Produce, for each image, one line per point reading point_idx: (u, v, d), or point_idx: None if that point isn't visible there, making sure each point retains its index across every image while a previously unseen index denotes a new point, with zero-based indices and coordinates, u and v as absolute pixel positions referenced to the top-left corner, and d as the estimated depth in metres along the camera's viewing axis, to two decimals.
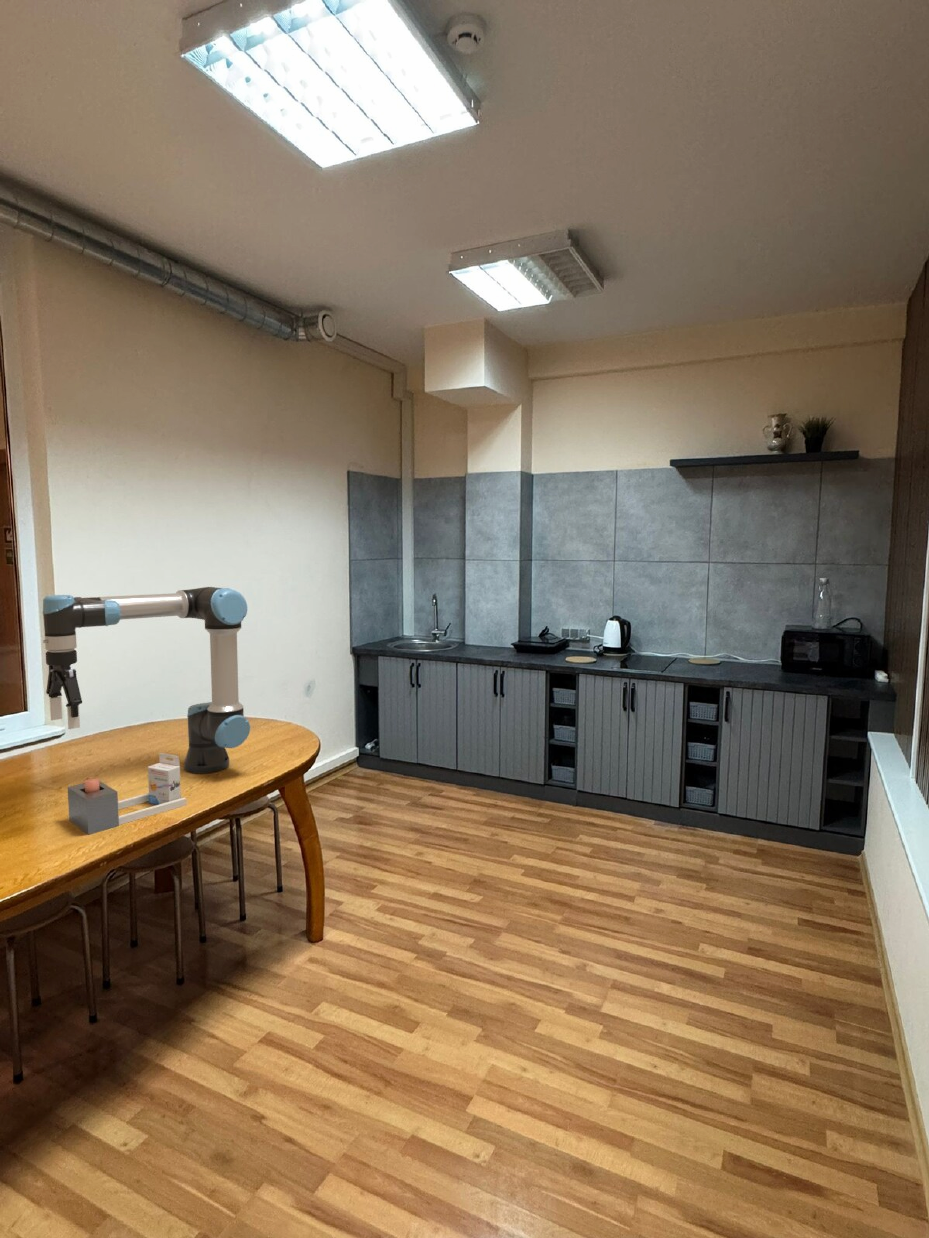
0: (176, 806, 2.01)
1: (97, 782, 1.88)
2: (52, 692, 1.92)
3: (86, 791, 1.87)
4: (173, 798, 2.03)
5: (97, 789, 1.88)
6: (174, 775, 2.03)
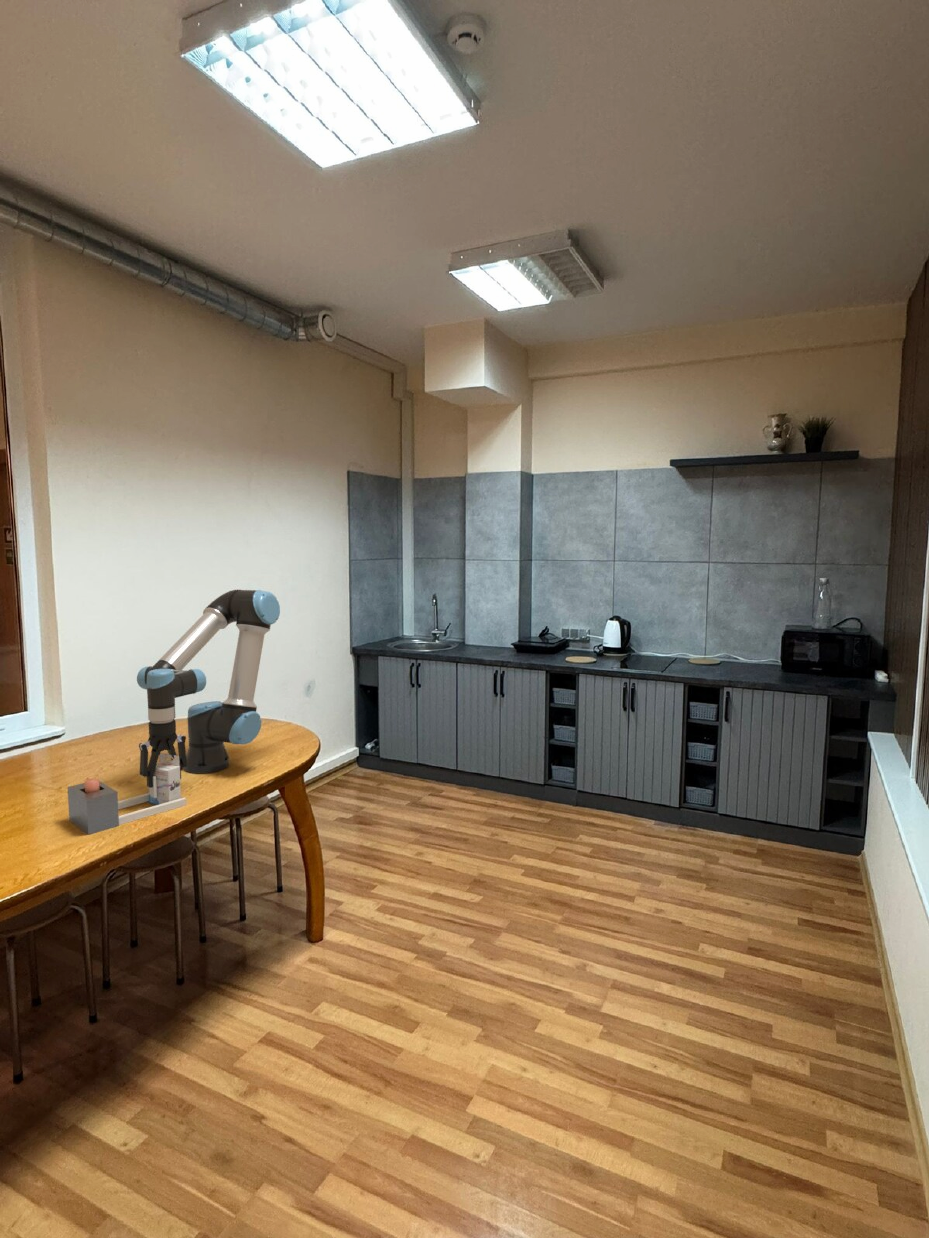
0: (176, 806, 2.01)
1: (97, 782, 1.88)
2: None
3: (86, 791, 1.87)
4: (173, 798, 2.03)
5: (97, 789, 1.88)
6: (174, 775, 2.03)
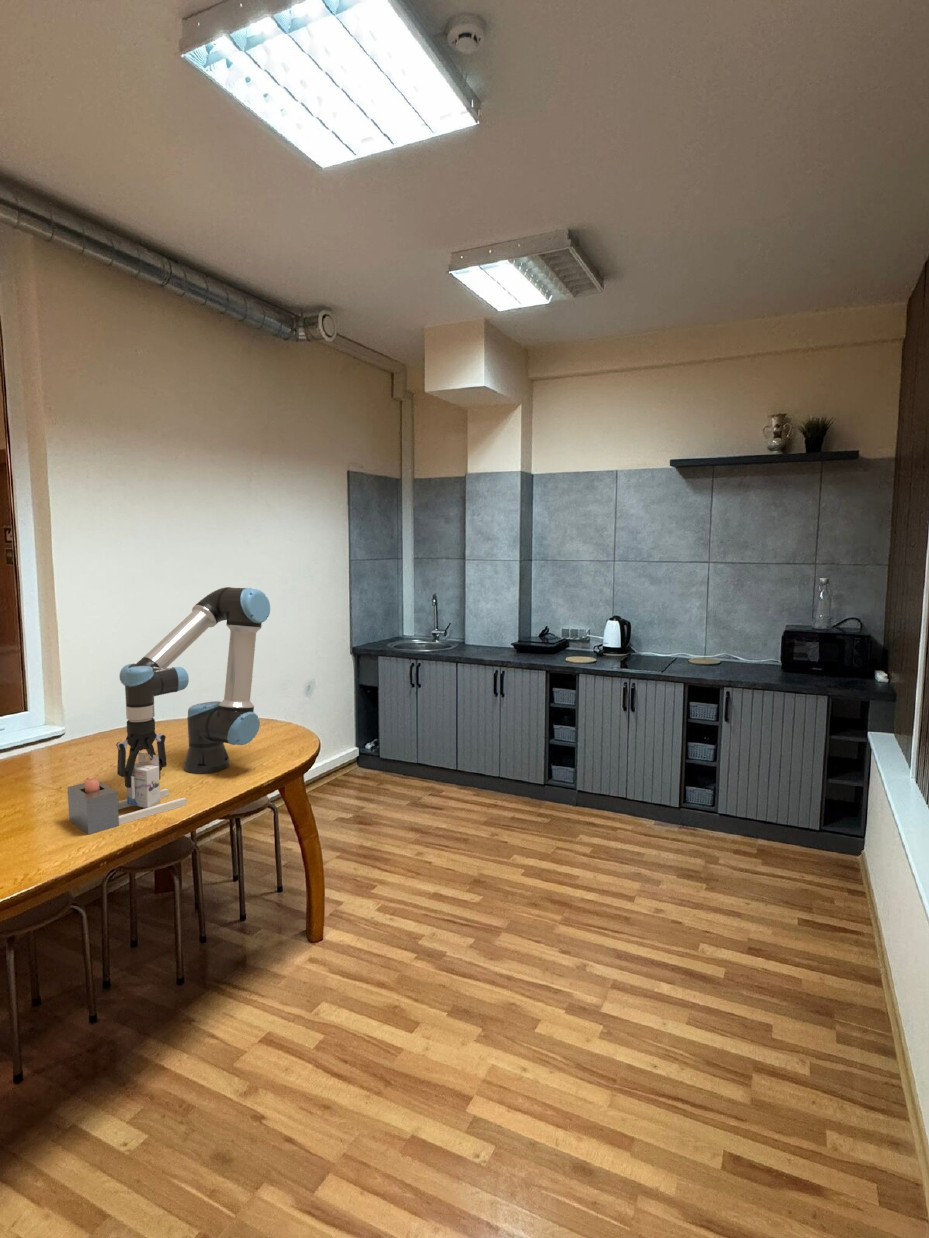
0: (176, 806, 2.01)
1: (97, 782, 1.88)
2: None
3: (86, 791, 1.87)
4: (151, 799, 1.98)
5: (97, 789, 1.88)
6: (153, 775, 1.98)
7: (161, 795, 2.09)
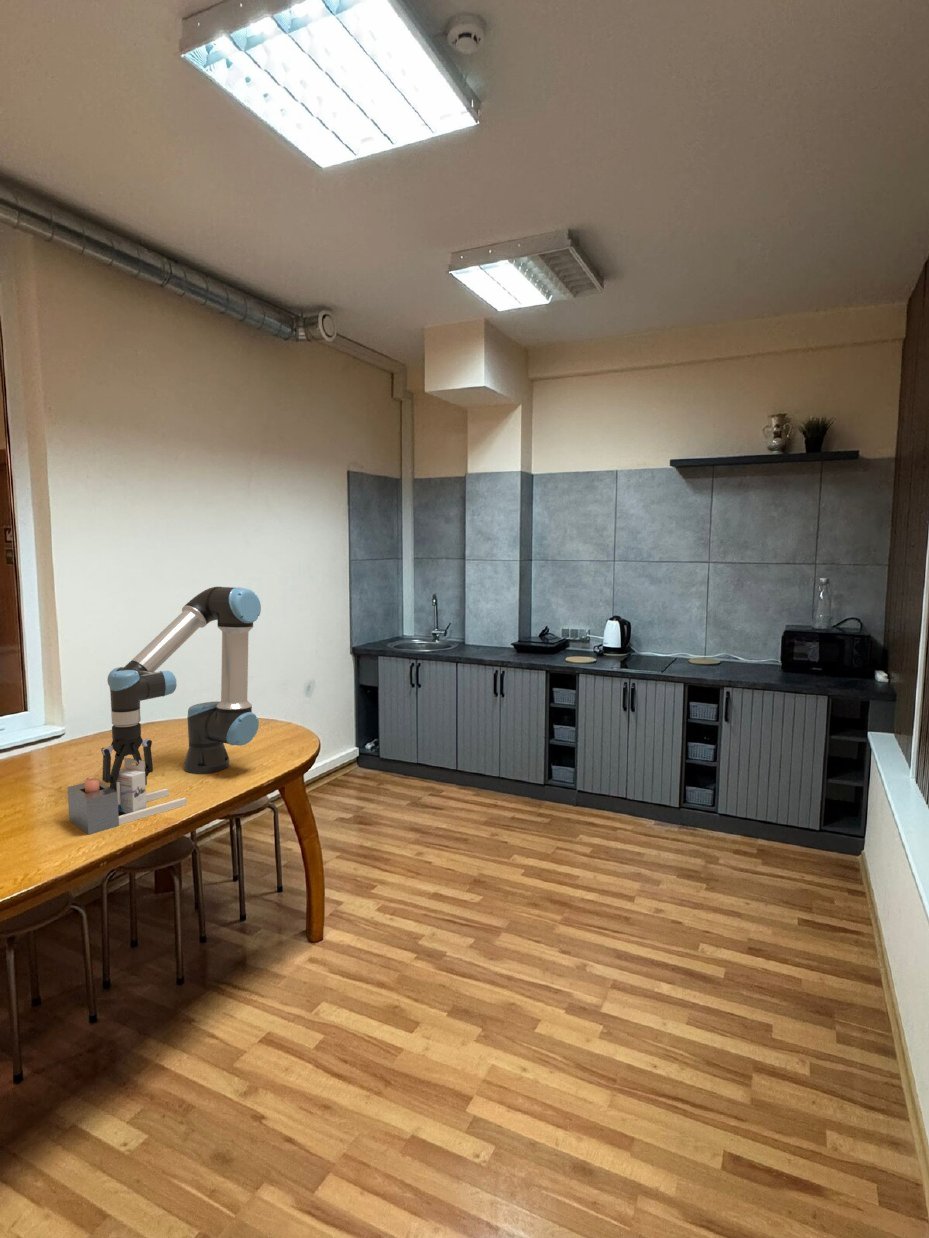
0: (176, 806, 2.01)
1: (97, 782, 1.88)
2: None
3: (86, 791, 1.87)
4: (137, 805, 1.95)
5: (97, 789, 1.88)
6: (139, 781, 1.95)
7: (161, 795, 2.09)
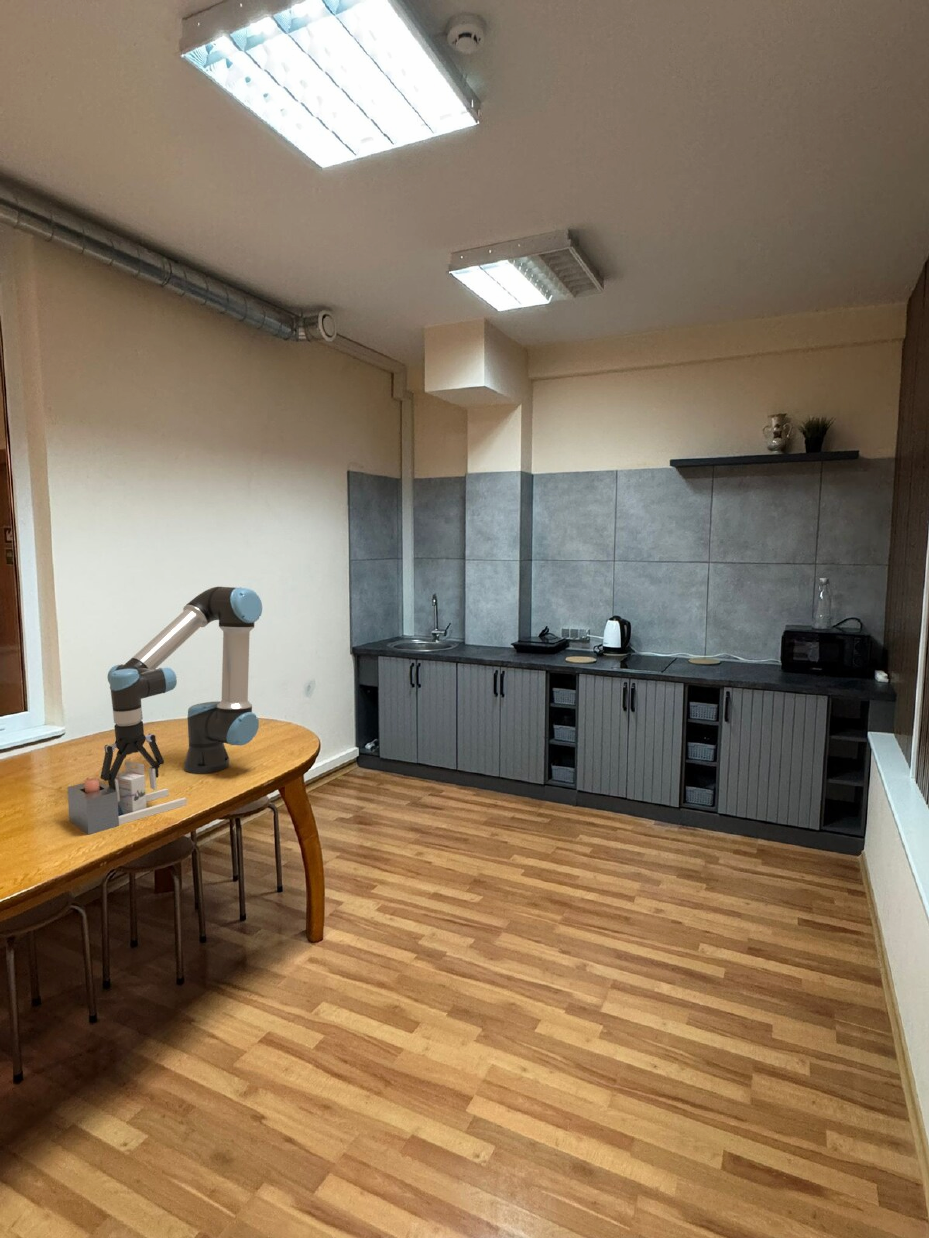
0: (176, 806, 2.01)
1: (97, 782, 1.88)
2: None
3: (86, 791, 1.87)
4: (137, 808, 1.95)
5: (97, 789, 1.88)
6: (138, 784, 1.94)
7: (161, 795, 2.09)
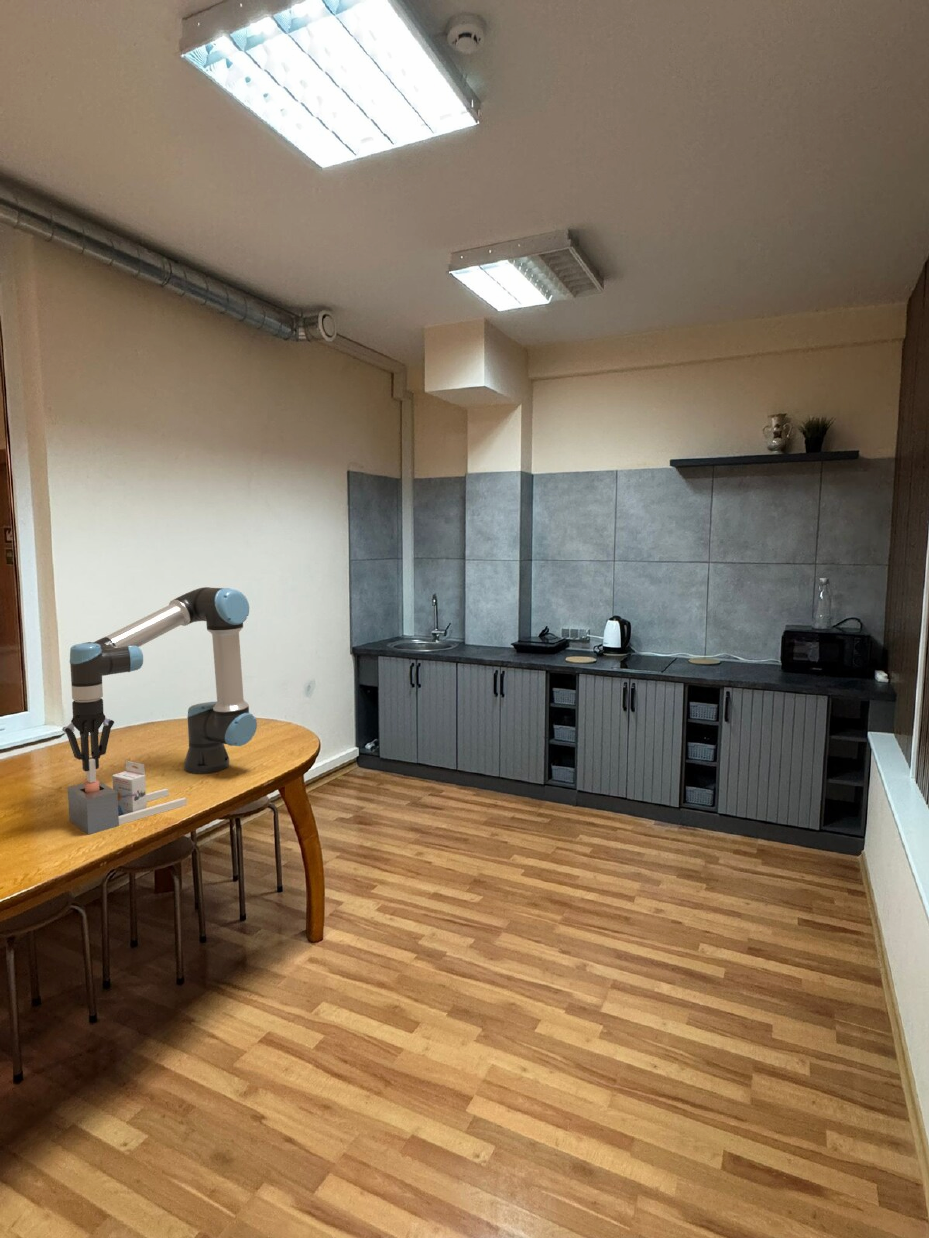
0: (176, 806, 2.01)
1: (97, 783, 1.88)
2: (91, 748, 1.88)
3: (86, 792, 1.87)
4: (137, 808, 1.95)
5: (97, 790, 1.88)
6: (139, 784, 1.95)
7: (161, 795, 2.09)
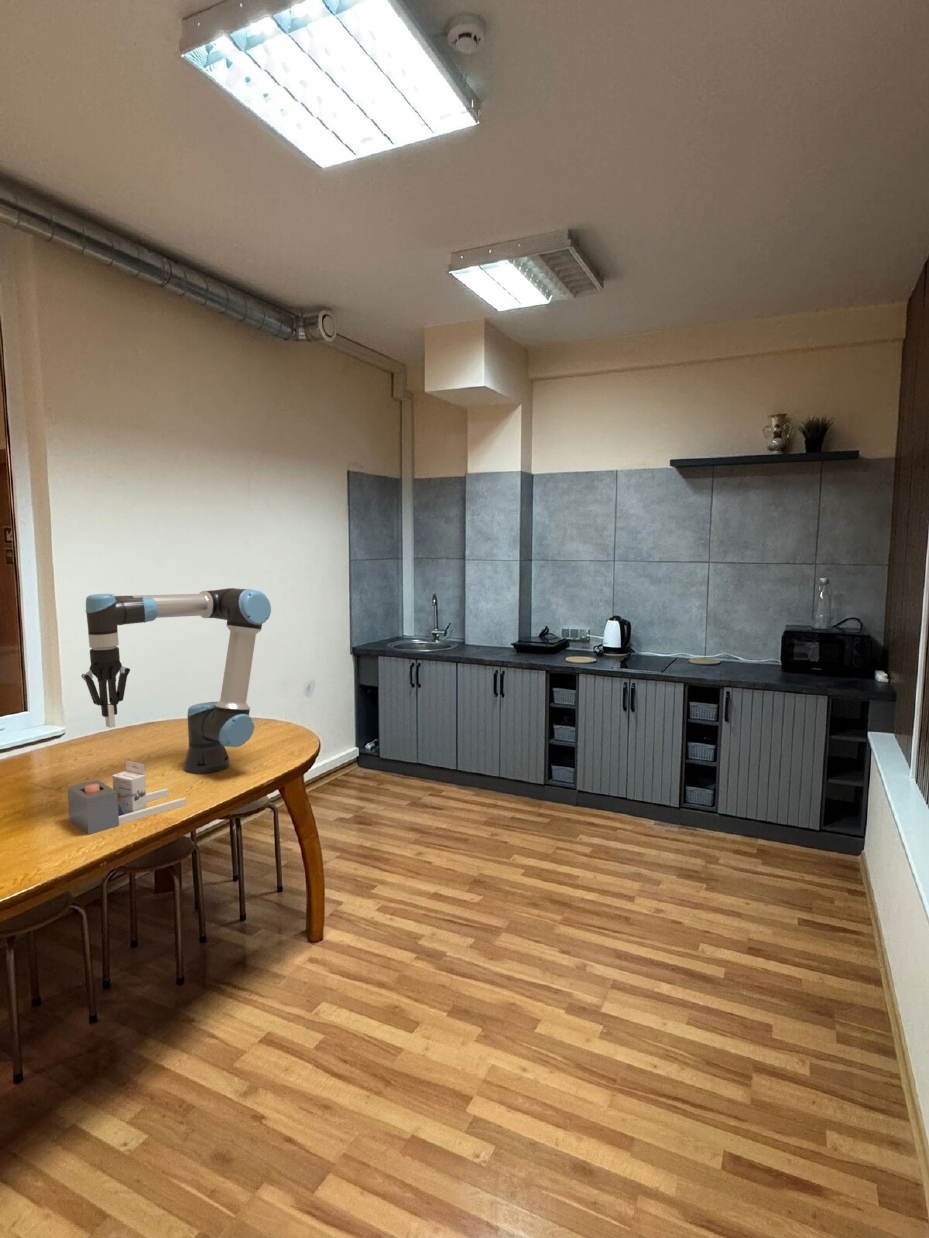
0: (176, 806, 2.01)
1: (97, 787, 1.88)
2: (109, 695, 1.96)
3: None
4: (137, 808, 1.95)
5: None
6: (139, 784, 1.95)
7: (161, 795, 2.09)
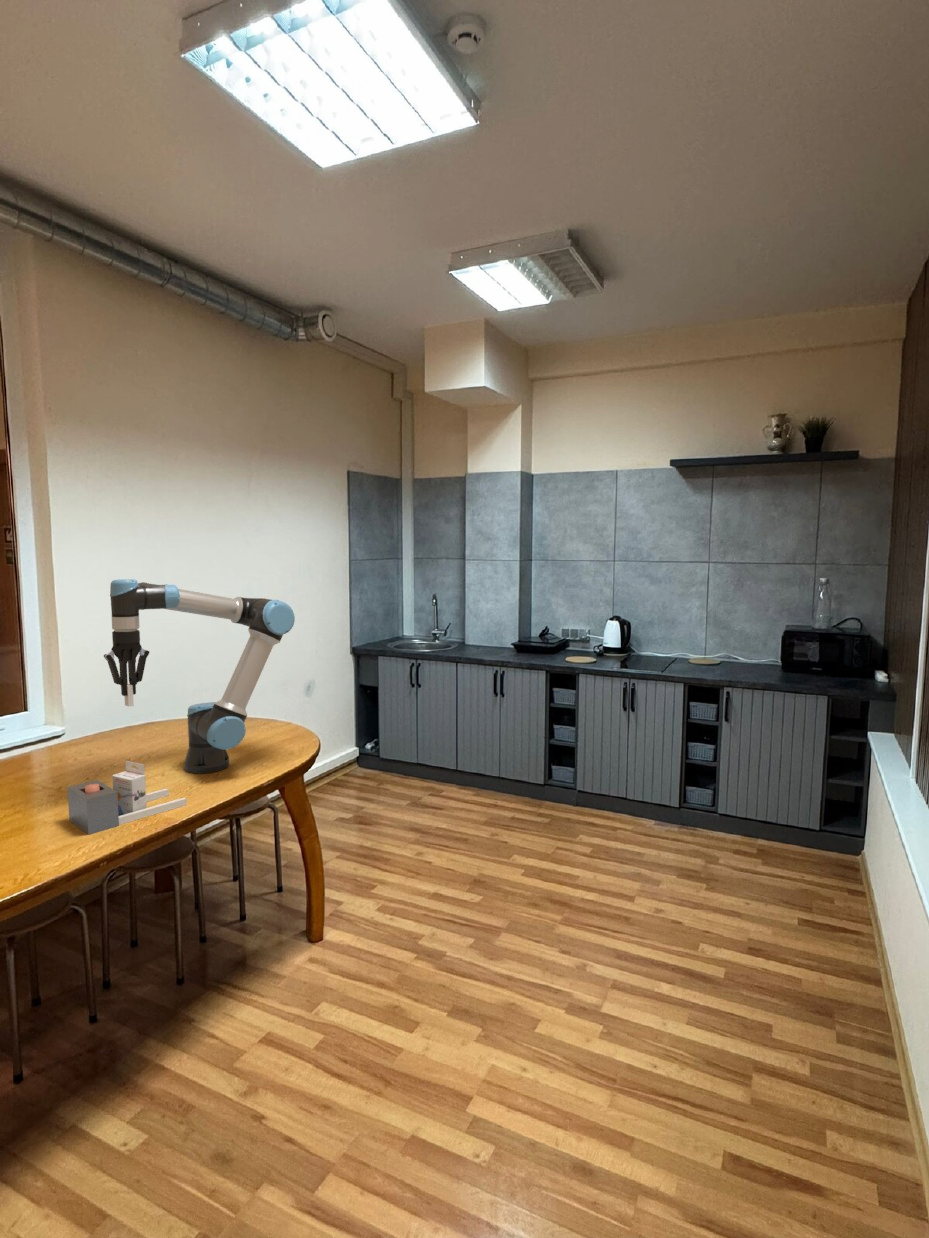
0: (176, 806, 2.01)
1: (97, 787, 1.88)
2: (129, 675, 2.06)
3: None
4: (137, 808, 1.95)
5: None
6: (139, 784, 1.95)
7: (161, 795, 2.09)
